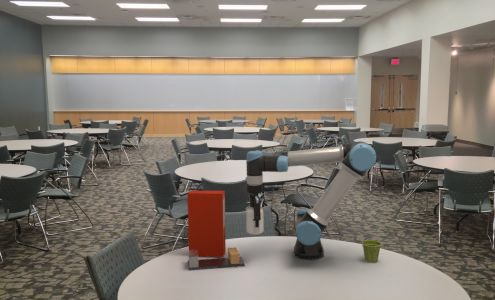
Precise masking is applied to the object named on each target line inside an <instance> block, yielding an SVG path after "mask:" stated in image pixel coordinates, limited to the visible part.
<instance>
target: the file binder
mask: <svg viewBox="0 0 495 300" xmlns="http://www.w3.org/2000/svg"><path fill="white" fill-rule="evenodd" d="M225 195H226V191H225V190H189V191H188V192H187V225H188V226H187V234H188V238H187V239H188V251H189V250H197V252H198V258H200V257H203V258H204V257H205V258H207V257H208V258H225V254H227V253H226V251H227V250H226V248H227V247H226V196H225Z"/></svg>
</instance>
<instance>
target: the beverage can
mask: <svg viewBox="0 0 495 300" xmlns="http://www.w3.org/2000/svg"><path fill="white" fill-rule="evenodd" d="M245 213H246V214H245V215H246V218H245V219H246V221H245V222H246V225H245V226H246V233H247V234H249V235H253V236H254V235H258V234H254V221H253V219H254V210H253V207H250V206H248V207H247V208H246V211H245ZM260 215H261V220H260V234H259V235H261V234H262V233H264V230H265V229H264V209H263V207H262V206H260ZM257 218H258V217H257Z"/></svg>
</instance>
